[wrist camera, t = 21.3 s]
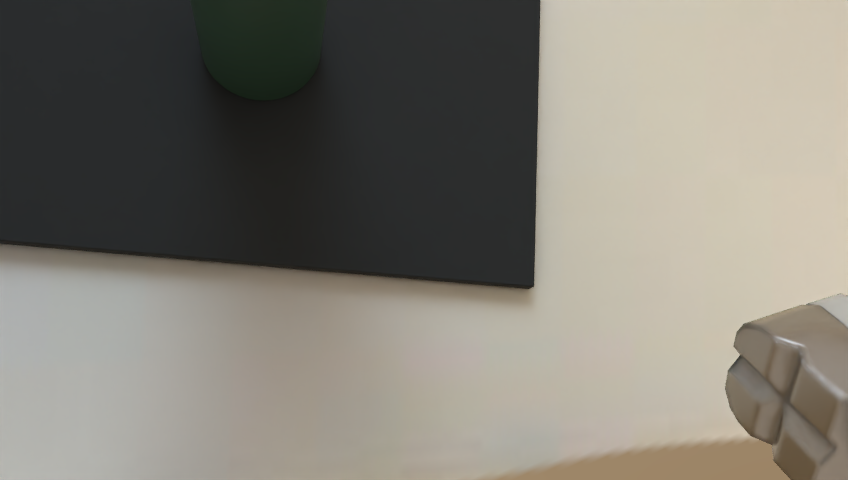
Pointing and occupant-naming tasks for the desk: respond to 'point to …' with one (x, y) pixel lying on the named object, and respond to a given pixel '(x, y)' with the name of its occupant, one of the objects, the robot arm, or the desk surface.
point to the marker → (260, 44)
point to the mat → (277, 140)
